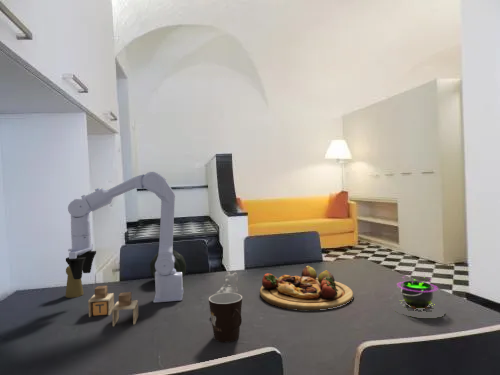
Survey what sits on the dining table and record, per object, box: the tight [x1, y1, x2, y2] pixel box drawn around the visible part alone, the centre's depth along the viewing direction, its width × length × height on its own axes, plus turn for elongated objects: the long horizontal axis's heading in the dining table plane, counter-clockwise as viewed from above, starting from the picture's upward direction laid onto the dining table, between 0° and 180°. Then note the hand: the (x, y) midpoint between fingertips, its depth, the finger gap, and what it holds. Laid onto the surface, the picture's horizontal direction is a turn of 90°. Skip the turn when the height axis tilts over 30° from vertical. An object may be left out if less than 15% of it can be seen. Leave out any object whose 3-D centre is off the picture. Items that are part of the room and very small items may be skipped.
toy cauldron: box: [396, 270, 439, 312], centre depth 104 cm, size 15×15×11 cm
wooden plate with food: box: [259, 265, 354, 311], centre depth 120 cm, size 32×32×8 cm
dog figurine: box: [215, 271, 239, 294], centre depth 110 cm, size 5×13×11 cm, turn 162°
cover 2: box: [111, 291, 139, 327], centre depth 101 cm, size 6×6×8 cm
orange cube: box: [92, 301, 108, 317], centre depth 108 cm, size 4×4×4 cm
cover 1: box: [87, 285, 115, 318], centre depth 108 cm, size 6×6×8 cm
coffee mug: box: [208, 293, 243, 343], centre depth 87 cm, size 12×9×10 cm
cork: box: [65, 265, 84, 299], centre depth 127 cm, size 6×6×11 cm
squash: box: [149, 249, 187, 280], centre depth 143 cm, size 14×15×15 cm
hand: (82, 275), depth 115 cm, fingers open, 7 cm apart
